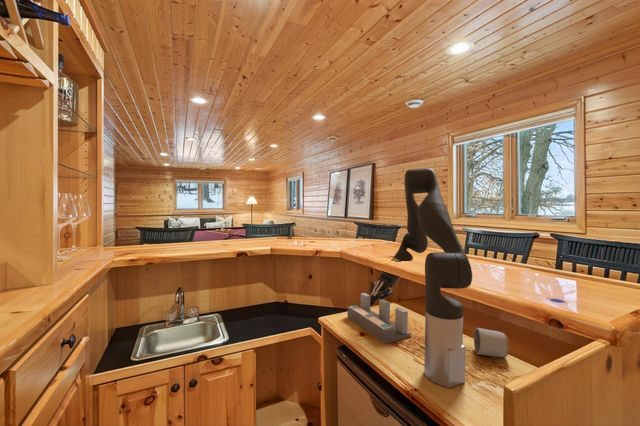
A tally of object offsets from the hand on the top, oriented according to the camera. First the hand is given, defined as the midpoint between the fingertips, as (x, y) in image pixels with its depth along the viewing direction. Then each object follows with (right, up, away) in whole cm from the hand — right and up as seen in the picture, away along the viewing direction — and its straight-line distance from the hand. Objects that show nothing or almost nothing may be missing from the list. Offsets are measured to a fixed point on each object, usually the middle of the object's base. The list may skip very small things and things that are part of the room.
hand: (368, 304), depth 119 cm
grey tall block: (+9, -4, -17) cm, 19 cm away
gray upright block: (+5, -4, -8) cm, 10 cm away
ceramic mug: (+32, -6, -28) cm, 43 cm away
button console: (+1, -5, -9) cm, 11 cm away
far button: (-1, -3, 0) cm, 4 cm away
